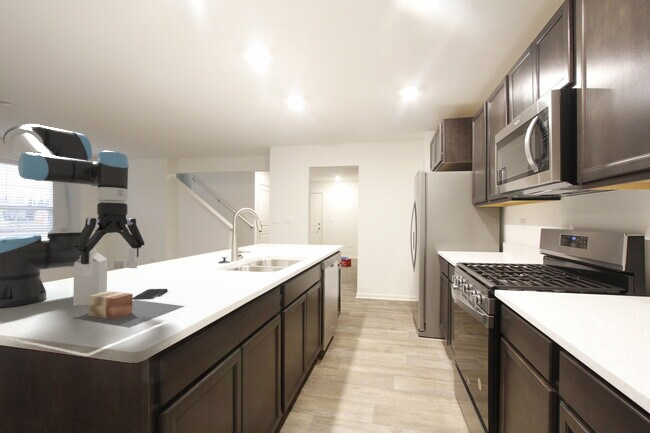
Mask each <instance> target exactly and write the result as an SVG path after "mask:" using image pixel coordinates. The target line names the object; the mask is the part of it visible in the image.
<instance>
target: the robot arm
mask: <svg viewBox="0 0 650 433" xmlns="http://www.w3.org/2000/svg"><path fill="white" fill-rule="evenodd" d="M2 138H3V139H2V140H3V144H4V146H5V147H6V148H7V149H8V151H10V152H11V153H12V154H15V155H17V156H18V163H17V170H18V175H19V176H20V178H22V179H25V180H33V181H37V182H52V229H51V230H50V231H48V232H47V237H42V236H41V234H36V233H35V234H24V235H22V234H21V235H16V236H9V237H7V236H6V237H2V238H0V309H1V308H11V307H19V306H25V305H30V304H34V303H38V302H41V301H43V300H45V299H47V290H46V288H45V285H44V284H43V281H42V280H41V270H50V269H59V268H74V263H75V262H76V261H77V260H79V259H80V255H81V264H83V276H93V253H89V252H90V251H91V250H92V249H95V247H96V245H97V244H98V243H99V242H100V240H101V239H102V238H103V237H104V235H106V234H113V233H117V234H120V236H121V237H122V239H124V240H125V241H126V242H127V244H128V245H129V246H130V247H129V248H128V260H127V261H128V264H127V265H128V269H137V268H138V263H137V262H138V258H139V254H140V252H139V249H141V248H142V246H145V240H144V239H143V237H142V235H141V232H140V230H139V228H138V226H137V219H136V218H133V217H131V218H127V215H128V209H129V208H128V204H127V202H128V191H129V190H128V189H129V188H128V186H129V185H128V184H129V182H128V180H129V160H128V156H127V154H125V153H123V152H120V151H119V152H118V151H114V150H113V151H111V150H101V151H99V152H98V153H97V159H96V160H97V161H93V160H92V158H93V157H92V155H93V149H92V143H91V141H90V139H89V138H88V136H86V135H85V134H83V133H79V132H76V131H72V130H65V129H61V128H57V127H52V126H51V127H49V126H45V125H40V124H35V123H25V124H19V125H15V126H11V127H10V128H7V129H6V131H4V133H3V137H2ZM82 185H87V186H88V185H89V186H92V187H97V193H96V194H97V195H96V197H97V198H96V200H97V201H98V203H97V204H96V207H97V208H96V210H97V211H96V214H97V215H98V216H97V218H95V217H86V219H85V224H84V227H83V206H82V205H83V201H82V200H83V197H82V196H83V195H82V194H83V192H82ZM97 225H98V227H97V228H96V226H97ZM94 230H95V231H94ZM93 232H94V233H93Z"/></svg>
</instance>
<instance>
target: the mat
mask: <svg viewBox="0 0 650 433" xmlns="http://www.w3.org/2000/svg"><path fill="white" fill-rule="evenodd" d="M184 307H185V305H179V304H171V303H163V302H154V301H147V300H141V299H139V300H132V313H131V314H128V315H125V316H122V317H119V318H116V319H107V318H101V317H95V316H89V313H85V314H82V315H78V316H76V317H73V319H76V320H80V321H88V322H93V323H99V324H100V323H101V324H106V325H111V326H118V327H124V328H132V327H135V326H137V325H139V324H142V323H144V322H145V323H146V322H147V321H150V320H153V319H156V318H158V317H161V316H163V315H166V314H169V313H172V312H173V311H176V310H179V309H181V308H184Z"/></svg>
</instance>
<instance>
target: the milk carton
mask: <svg viewBox="0 0 650 433" xmlns="http://www.w3.org/2000/svg"><path fill="white" fill-rule="evenodd" d="M89 253H93V276H83V264H81V255H80V259H79V260H77V261H76V262H75V263H74V267H73V294H72V295H73V298H72V299H73V301H72V302H73V305H72V306H73V307H75V306H76V307H77V306H89V296H90V295H94V294H98V293H103V292H107V291H108V258H107V257H105V256H104V255H102V254H101V253H100V252H98V251H97V248H95V247H94V248H93V249H92V250H91V251H90V252H89Z"/></svg>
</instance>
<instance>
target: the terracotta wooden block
mask: <svg viewBox="0 0 650 433" xmlns="http://www.w3.org/2000/svg"><path fill="white" fill-rule="evenodd" d="M133 295H134V294H133V293H131V292H130V293H129V292H121V291H120V292H119V291H111V290H107V292H103V293H98V294H94V295H90V296H89V305H88V314H89V316H95V317H101V318H107V319H116V318H119V317H122V316H125V315H128V314H131V313H132V301H133V300H132V298H133V297H134V296H133Z"/></svg>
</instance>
